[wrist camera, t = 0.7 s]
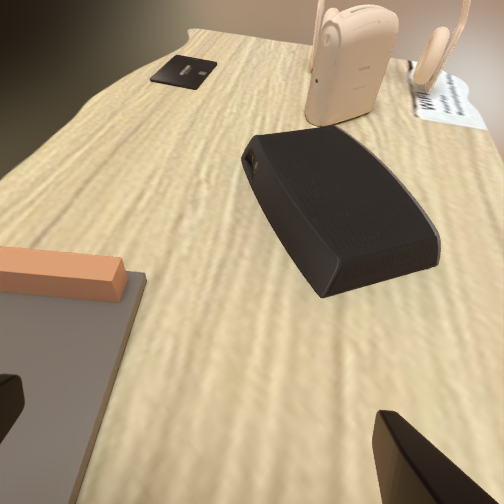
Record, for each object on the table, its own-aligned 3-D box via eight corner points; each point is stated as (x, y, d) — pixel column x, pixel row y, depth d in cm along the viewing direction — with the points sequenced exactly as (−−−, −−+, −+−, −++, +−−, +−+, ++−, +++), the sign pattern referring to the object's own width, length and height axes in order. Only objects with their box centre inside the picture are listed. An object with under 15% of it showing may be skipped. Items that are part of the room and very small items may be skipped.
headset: (300, 77, 54) (328, -79, 41) (310, 61, 59) (337, -84, 45) (432, 105, 51) (508, -53, 38) (431, 87, 56) (499, -61, 42)
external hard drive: (336, 148, 42) (345, 116, 39) (442, 268, 31) (467, 236, 28) (234, 162, 39) (235, 128, 36) (310, 304, 27) (322, 272, 24)
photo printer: (319, 131, 44) (347, 16, 34) (298, 115, 46) (319, 4, 37) (375, 114, 48) (413, 8, 39) (353, 100, 50) (384, -3, 41)
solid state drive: (217, 66, 55) (217, 62, 55) (196, 92, 49) (196, 87, 48) (176, 59, 56) (175, 54, 56) (149, 83, 49) (148, 78, 49)
